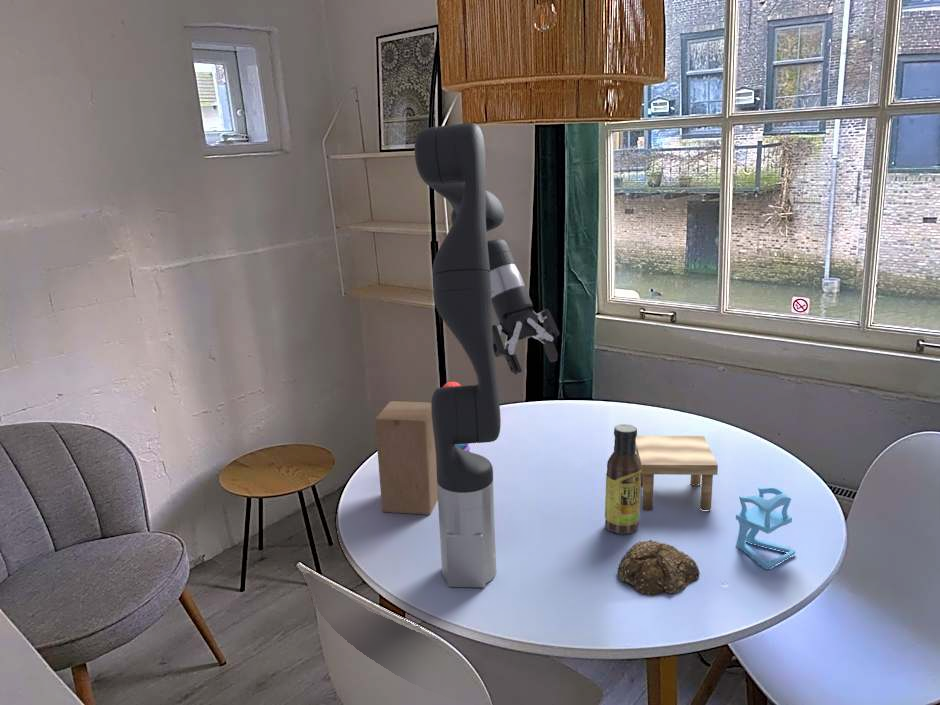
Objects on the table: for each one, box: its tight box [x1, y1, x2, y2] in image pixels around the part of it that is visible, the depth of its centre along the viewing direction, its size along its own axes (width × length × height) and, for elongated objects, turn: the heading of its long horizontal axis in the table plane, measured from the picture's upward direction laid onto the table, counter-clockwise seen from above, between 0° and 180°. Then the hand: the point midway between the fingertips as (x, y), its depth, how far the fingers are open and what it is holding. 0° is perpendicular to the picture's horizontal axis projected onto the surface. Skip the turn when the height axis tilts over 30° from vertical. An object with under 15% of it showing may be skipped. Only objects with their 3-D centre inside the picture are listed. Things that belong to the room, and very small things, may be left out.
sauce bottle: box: [604, 423, 642, 535], centre depth 142 cm, size 6×6×20 cm
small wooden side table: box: [635, 435, 719, 512], centre depth 155 cm, size 14×14×10 cm
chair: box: [735, 486, 796, 570], centre depth 133 cm, size 8×8×12 cm
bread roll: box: [617, 539, 701, 596], centre depth 129 cm, size 13×12×5 cm
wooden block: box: [374, 400, 438, 516], centre depth 155 cm, size 10×10×20 cm
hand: (536, 367), depth 154 cm, fingers open, 8 cm apart
